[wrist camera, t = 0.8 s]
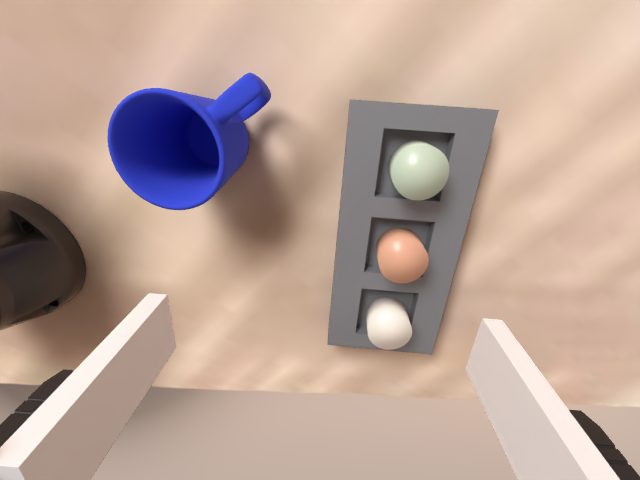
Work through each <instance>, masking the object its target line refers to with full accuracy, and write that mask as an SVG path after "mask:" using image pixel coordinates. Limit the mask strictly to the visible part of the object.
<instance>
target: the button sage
mask: <svg viewBox="0 0 640 480" xmlns="http://www.w3.org/2000/svg"><path fill="white" fill-rule="evenodd" d="M388 174H389V177H390V179H391V181H392V183H393V184H394V186H395V188H396V189H397V191H398V192H399V193H400V194H401V195H402V196H404V197H405V198H408V199H411V200H425V199H428V198H431V197H433V196H434V195H436V194H437V193H439V192H440V191H441V190H442V188H443V187H444V186H445V184H446V182H447V180H448V177H449V163H448V160H447V158H446V156H445V155H444V154H443V153H442V152H441V151H440V150H439V149H437V148H435V147H433V146H432V145H430V144H428V143H426V142H423V141H409V142H406V143H404V144H402V145H400V146H399V147H398V148H397V149H395V151H394V152H393V153H392V155H391V157H390V159H389V162H388Z"/></svg>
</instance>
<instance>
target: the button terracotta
mask: <svg viewBox="0 0 640 480" xmlns="http://www.w3.org/2000/svg"><path fill="white" fill-rule="evenodd" d="M376 255H377V260H378V264H379V268H380V271H381V273H382V274H383V276H384V277H385V278H387V279H388V280H390V281H392V282H395V283H409V282H412V281H415V280H416V279H418V278H419V277H421V276H422V275H423V274H424V272H425V271H426V269H427V267H428V262H429V258H428V254H427V252H426V250H425V248H424V246H423V244H422V243H421V241H420V239H419V237H418V236H417V234H416V233H415V232H413V231H412V230H410V229H407V228H403V227H397V228H392V229H389V230H387V231H386V232H384V233H383V234H382V235H381V236H380V237H379V239H378V241H377V243H376Z"/></svg>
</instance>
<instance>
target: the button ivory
mask: <svg viewBox="0 0 640 480" xmlns="http://www.w3.org/2000/svg"><path fill="white" fill-rule="evenodd" d="M366 323H367V332H368V338H369V340H370V341H371V342H372V344H374V345H375V346H376V347H378V348H381V349H386V350H393V349H397V348H400V347H402V346H404V345H405V344H406V343H407V342H408V341H409V340H410V338H411V336H412V327H411V324H410V321H409V317H408V314H407V311H406V308H405V306H404V305H403V303H402V302H400V301H399V300H397V299H395V298H391V297H383V298H379V299H376V300H375V301H373V302H372V303H371V304H370V305H369V306H368V307H367V310H366Z"/></svg>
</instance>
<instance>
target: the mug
mask: <svg viewBox="0 0 640 480" xmlns="http://www.w3.org/2000/svg"><path fill="white" fill-rule="evenodd" d="M270 98H271V93H270V90H269V89H268V87H267V85H266V84H265V83H264V82H263V81H262V79H260V78H259V77H258V76H256V75H254V74H252V73H247V74H246V75H244V76H243V77H242V78H240V79H239V80H238V81H237V82H236V83H234V84H233V85H232V86H231V87H230V88H228V89H227V90H226V91H225V92H224V93H223V94H222V95H221V96H220V97H219V98H218V99H217V100H214V99H209V98H205V97H200V96H195V95H191V94H186V93H182V92H177V91H172V90H168V89H161V88H150V89H144V90H140V91H137V92H135V93H133V94H131V95H129V96H128V97H126V98H125V99H124V100H122V102H121V103H120V104H119V105H118V106H117V107H116V109H115V111H114V112H113V115H112V117H111V120H110V123H109V128H108V147H109V151H110V155H111V158H112V161H113V164H114V166H115V168H116V170H117V172H118V173H119V175H120V176H121V178H122V179H123V181H124V182H125V183H126V184H127V185H128V186H129V187H130V188H131V189H132V190H133V191H134V192H135V193H136V194H137V195H138V196H140V197H141V198H143V199H144V200H146V201H148V202H150V203H151V204H154V205H156V206H159V207H162V208H166V209H172V210H186V209H191V208H195V207H197V206H200V205H202V204H204V203H205V202H207V201H208V200H209V199H211V198H212V197H213V196H214V195H215V193H216V192H217V191H218V190H219V189H220V188H221V187H222V186H223V185H224V184H225V183H226V182H227V180H228V179H229V178H230V177H231V176H232V175H233V174H234V173H235V172H236V171H237V170H238V169H239V167H240V166H241V165H242V164H243V162H244V161H245V159H246V156H247V153H248V149H249V137H248V132H247V129H246V127H245V125H244V123H243V121H244V120H246V119H248V118H249V117H251V116H252V115H254V114H255V113H256V112H258V111H259V110H260V109H261V108H262V107H263V106H264V105H266V104H267V102H268V101H269V100H270Z"/></svg>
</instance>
